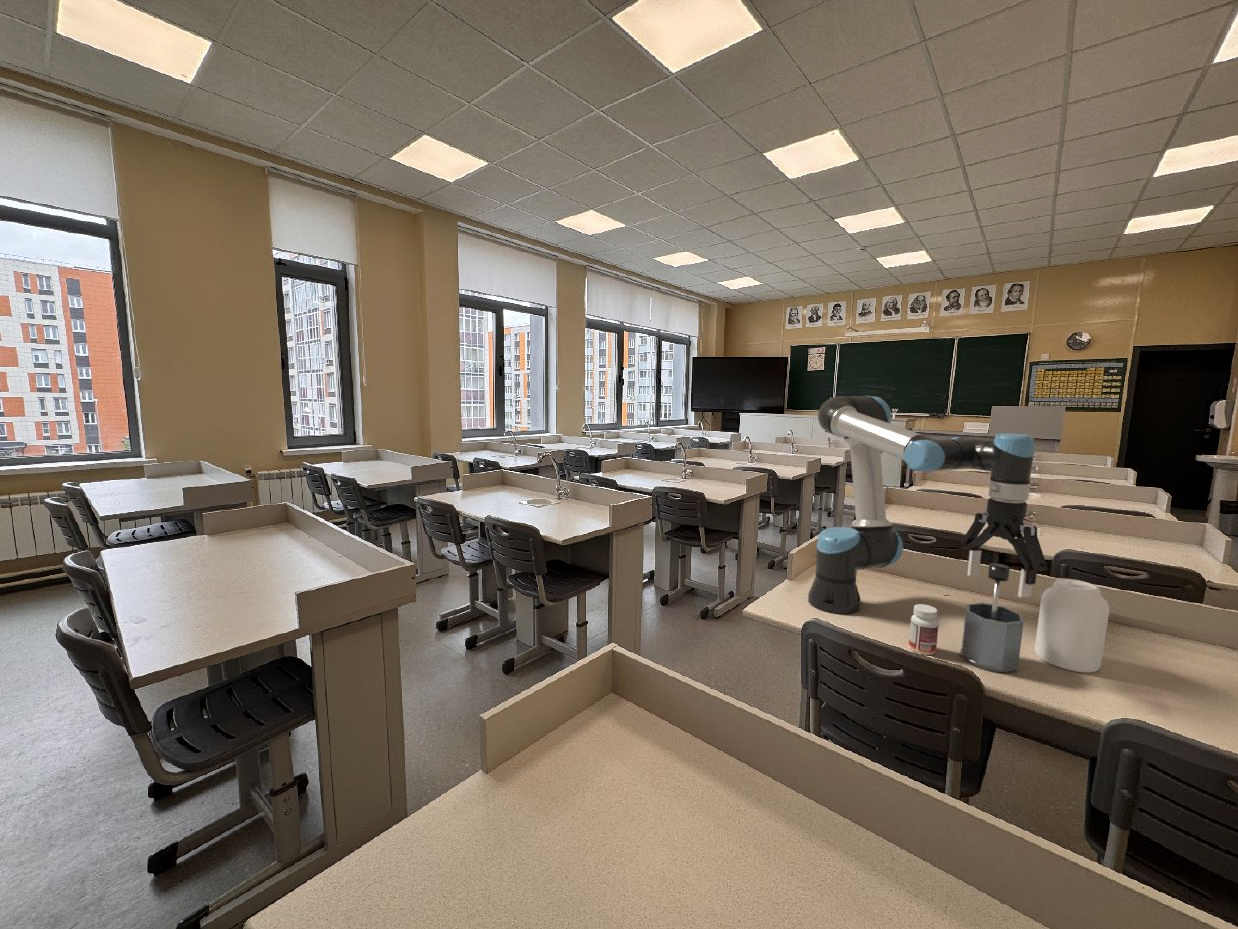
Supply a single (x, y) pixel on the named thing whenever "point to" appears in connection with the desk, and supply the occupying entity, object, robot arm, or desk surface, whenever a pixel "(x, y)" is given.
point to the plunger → (997, 583)
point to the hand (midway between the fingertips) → (997, 585)
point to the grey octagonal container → (992, 638)
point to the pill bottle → (924, 629)
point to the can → (1072, 626)
